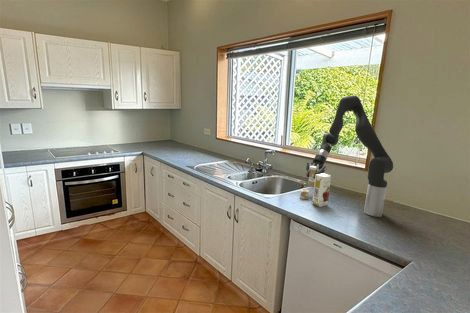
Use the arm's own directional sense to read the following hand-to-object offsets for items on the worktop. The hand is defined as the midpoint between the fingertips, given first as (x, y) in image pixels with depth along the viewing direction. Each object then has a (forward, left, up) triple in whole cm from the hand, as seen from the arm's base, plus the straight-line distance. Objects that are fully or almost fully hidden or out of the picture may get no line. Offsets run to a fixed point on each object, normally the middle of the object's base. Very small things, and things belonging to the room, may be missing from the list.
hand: (310, 177), depth 174 cm
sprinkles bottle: (-1, -2, -6) cm, 7 cm away
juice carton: (-9, +12, -13) cm, 20 cm away
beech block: (+2, +6, -13) cm, 14 cm away
